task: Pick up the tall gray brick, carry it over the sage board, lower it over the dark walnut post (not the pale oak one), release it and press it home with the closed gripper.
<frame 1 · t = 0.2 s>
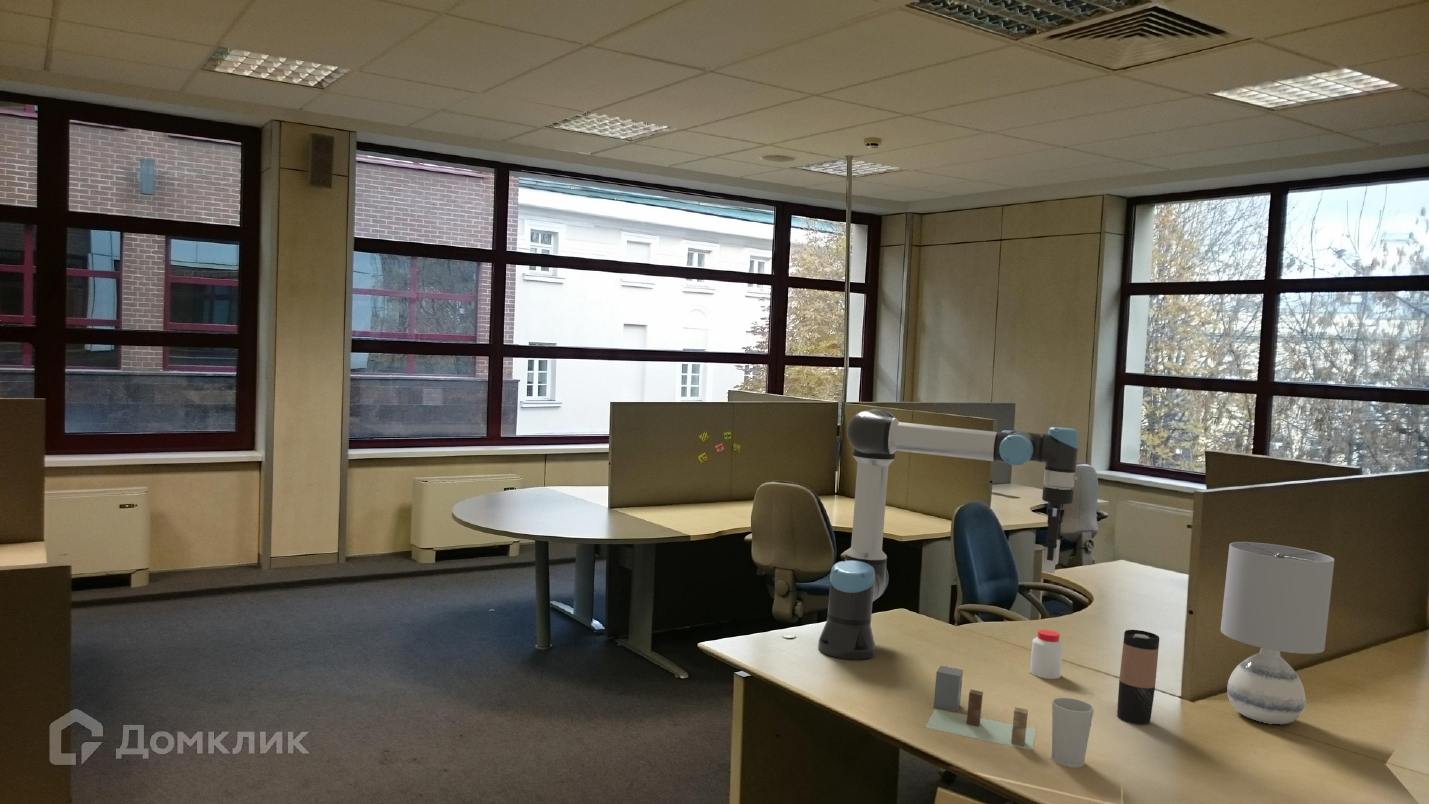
hand: (1050, 568, 255), 28 cm above the table, fingers open, 13 cm apart
tall gray brick: (946, 707, 225), on the table
pill bottle: (1044, 674, 256), on the table
travel mug: (1133, 720, 227), on the table
cup: (1067, 763, 198), on the table
board: (981, 730, 212), on the table
lamp: (1262, 718, 234), on the table
oak post: (1018, 742, 206), resting on board
walnut post: (973, 723, 215), resting on board
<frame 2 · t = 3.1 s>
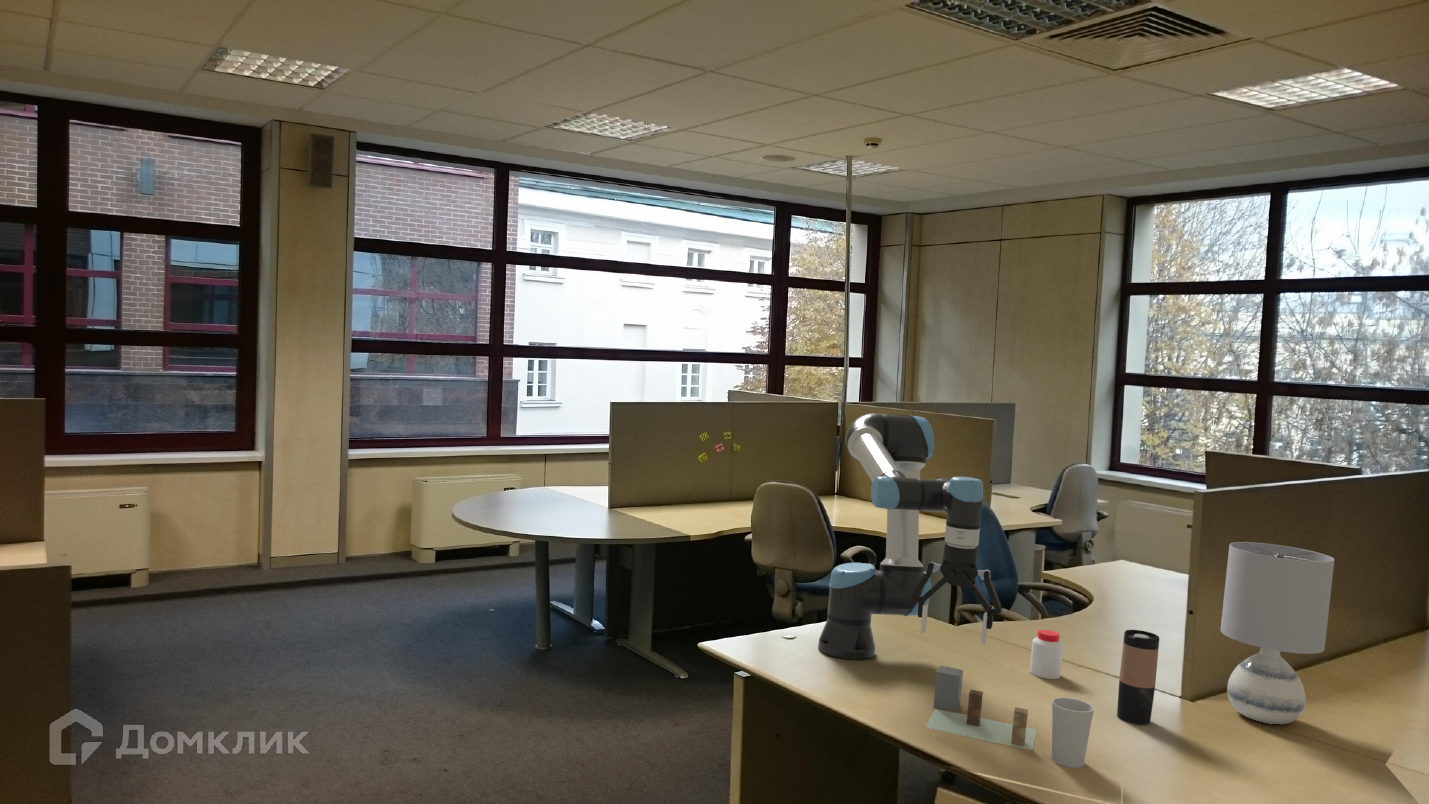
hand: (953, 637, 224), 17 cm above the table, fingers open, 13 cm apart
nothing on the table moved.
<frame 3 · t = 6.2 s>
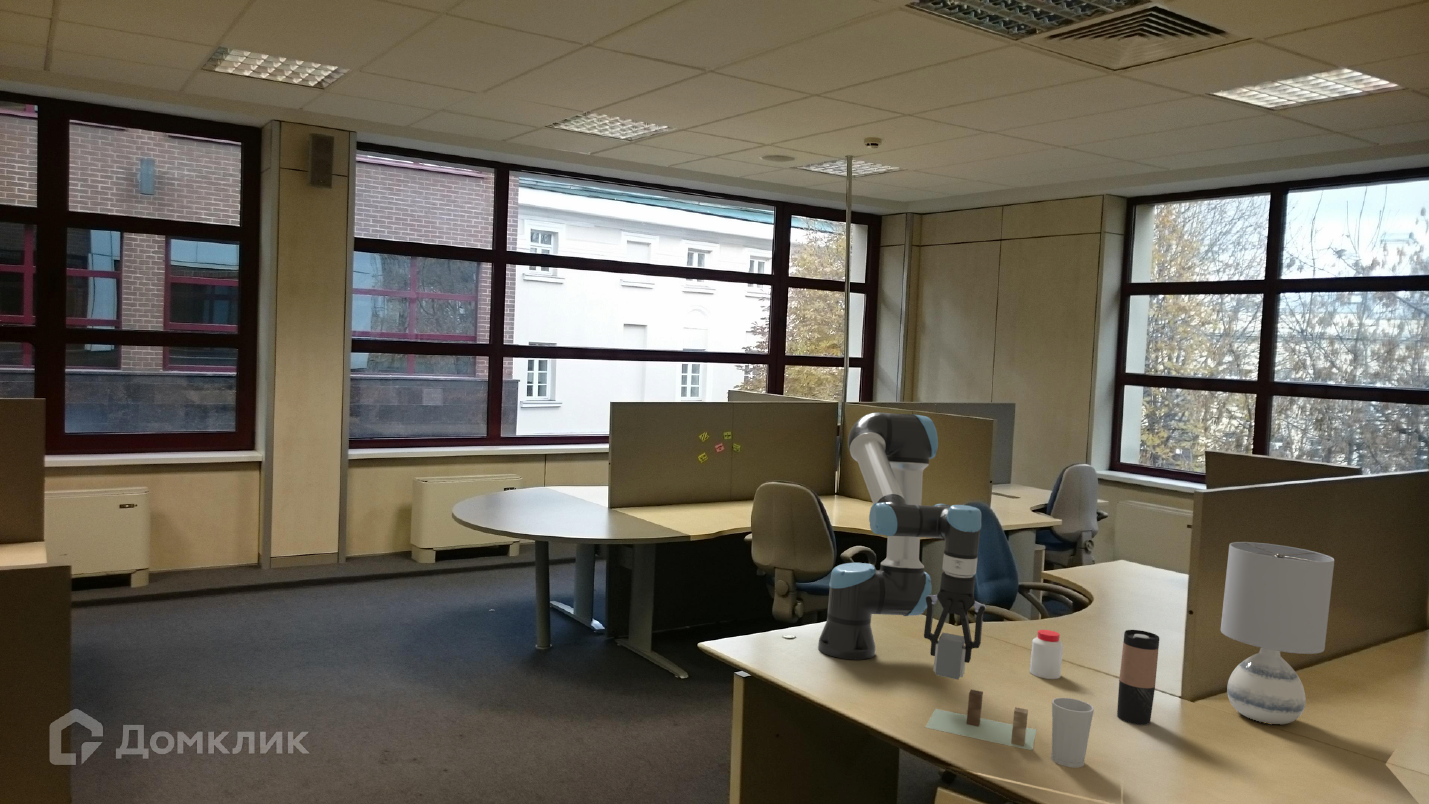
hand: (948, 672, 225), 8 cm above the table, fingers closed on tall gray brick, 5 cm apart
tall gray brick: (948, 673, 225), point 8 cm above the table, touching gripper
everything else where it was.
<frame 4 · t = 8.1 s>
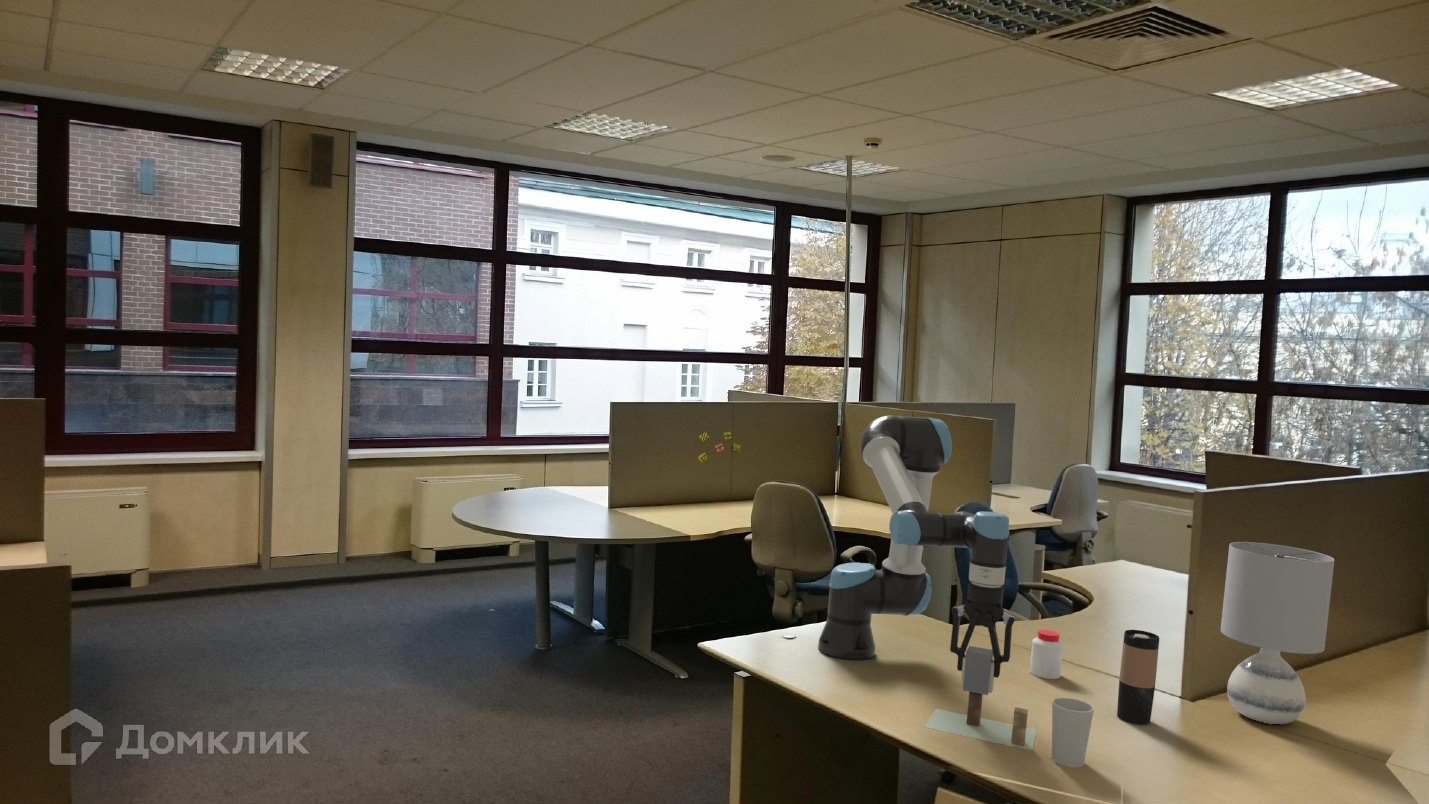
hand: (976, 688, 214), 8 cm above the table, fingers closed on tall gray brick, 5 cm apart
tall gray brick: (976, 689, 214), point 8 cm above the table, touching gripper
everything else where it was.
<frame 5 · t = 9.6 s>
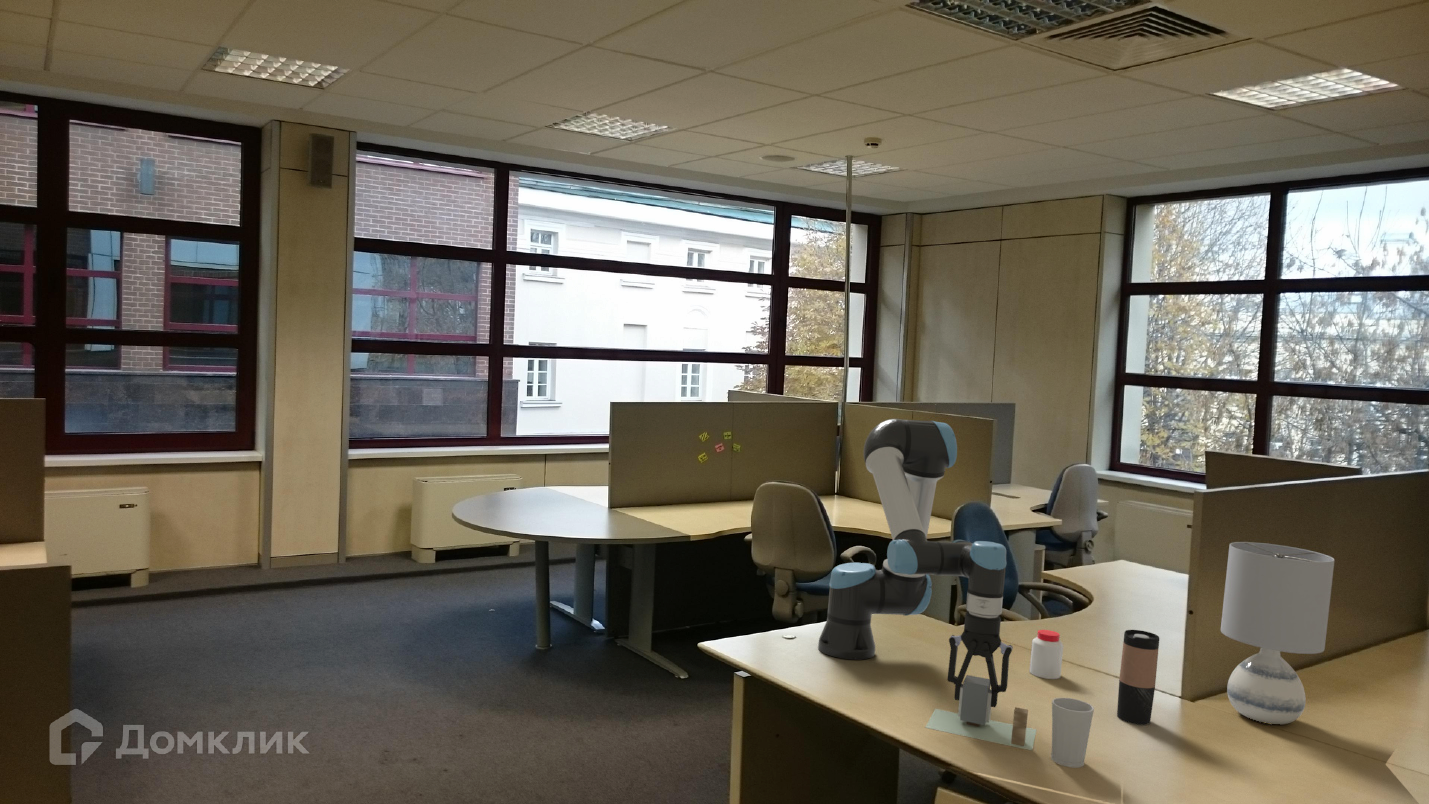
hand: (974, 717, 215), 2 cm above the table, fingers closed on tall gray brick, 5 cm apart
tall gray brick: (973, 718, 215), point 2 cm above the table, touching gripper
everything else where it was.
when the fingers open (1 cm above the table, at t = 10.1 s): tall gray brick stays where it is, resting on board.
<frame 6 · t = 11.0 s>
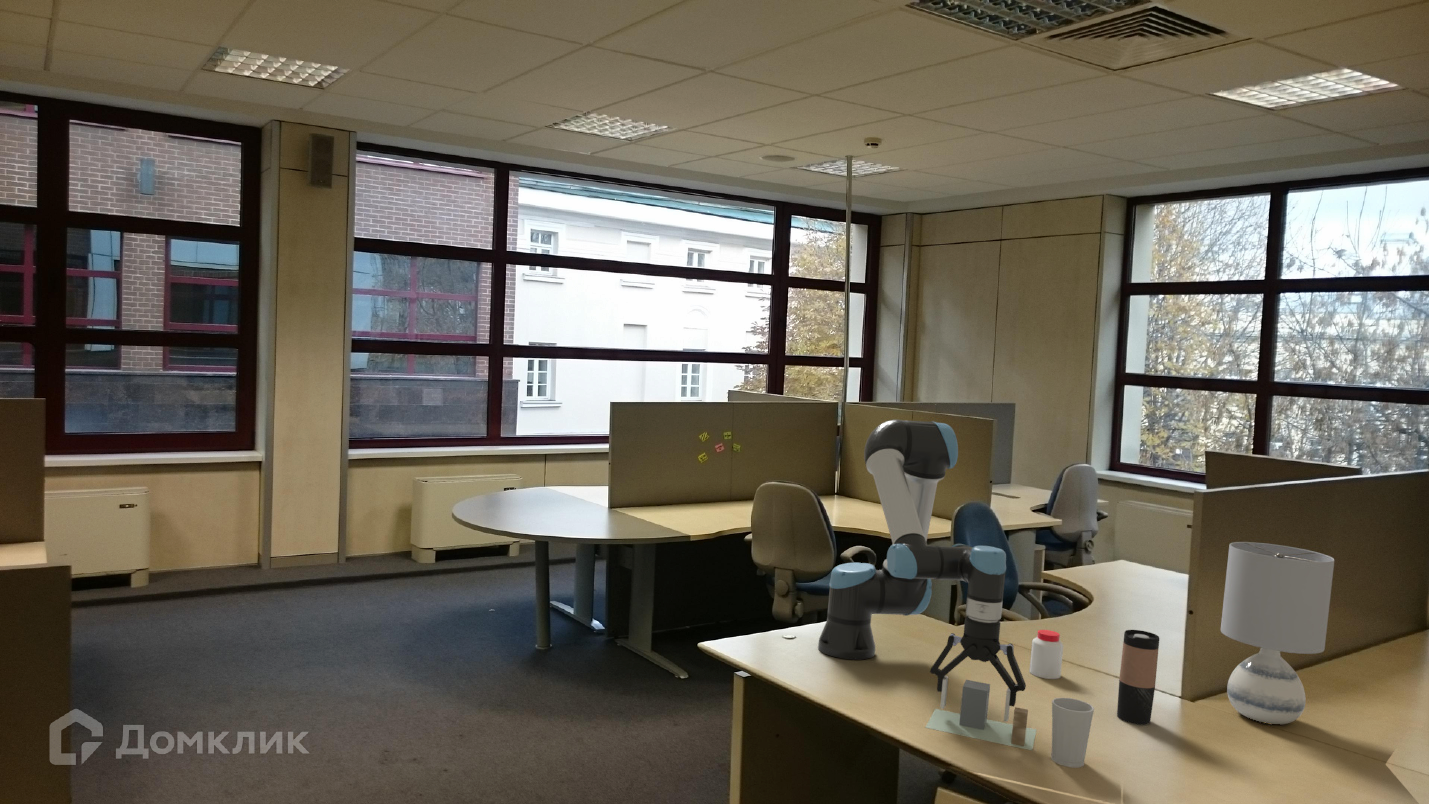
hand: (974, 713, 215), 3 cm above the table, fingers open, 13 cm apart
tall gray brick: (973, 723, 215), resting on board
everything else where it was.
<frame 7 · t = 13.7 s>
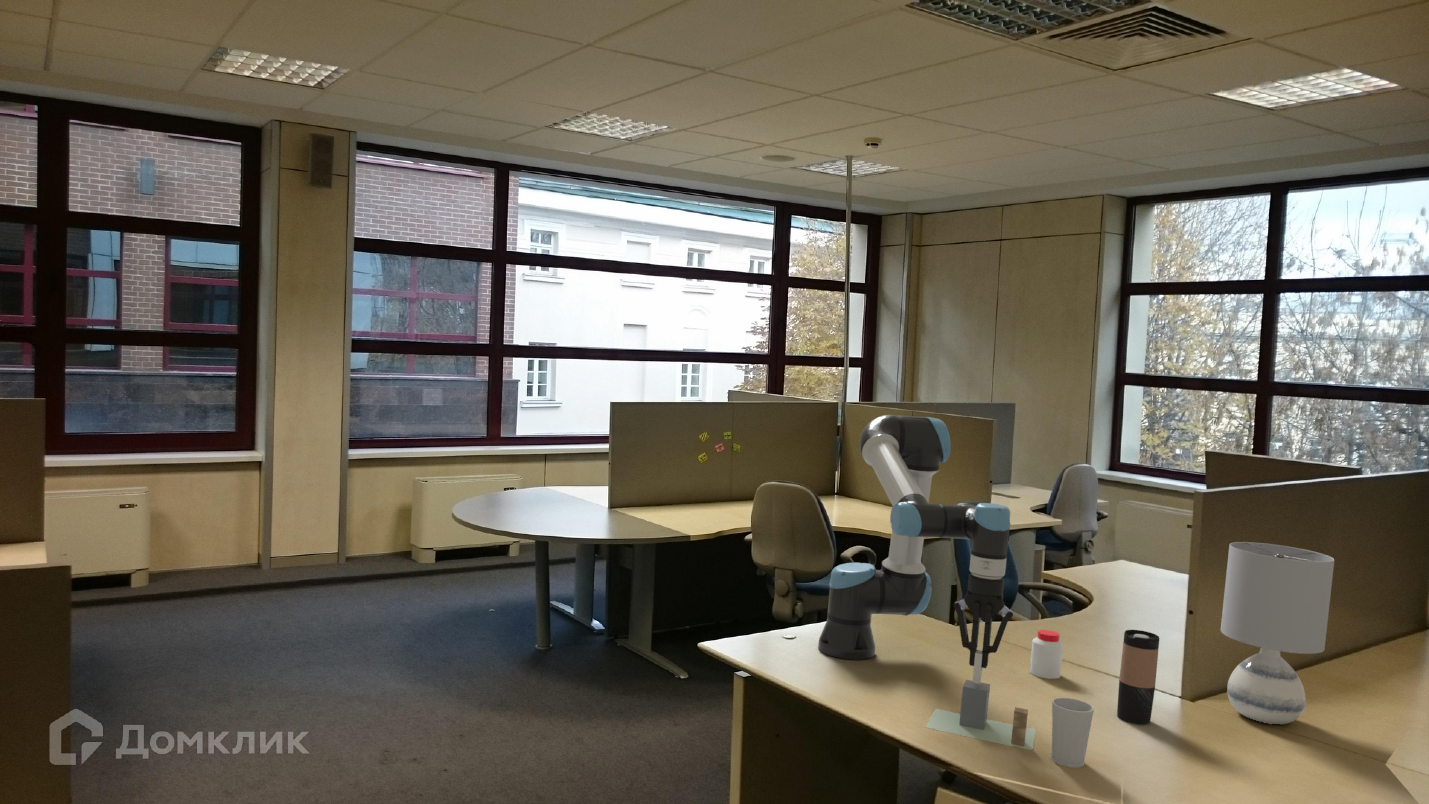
hand: (976, 680, 215), 10 cm above the table, fingers closed
nothing on the table moved.
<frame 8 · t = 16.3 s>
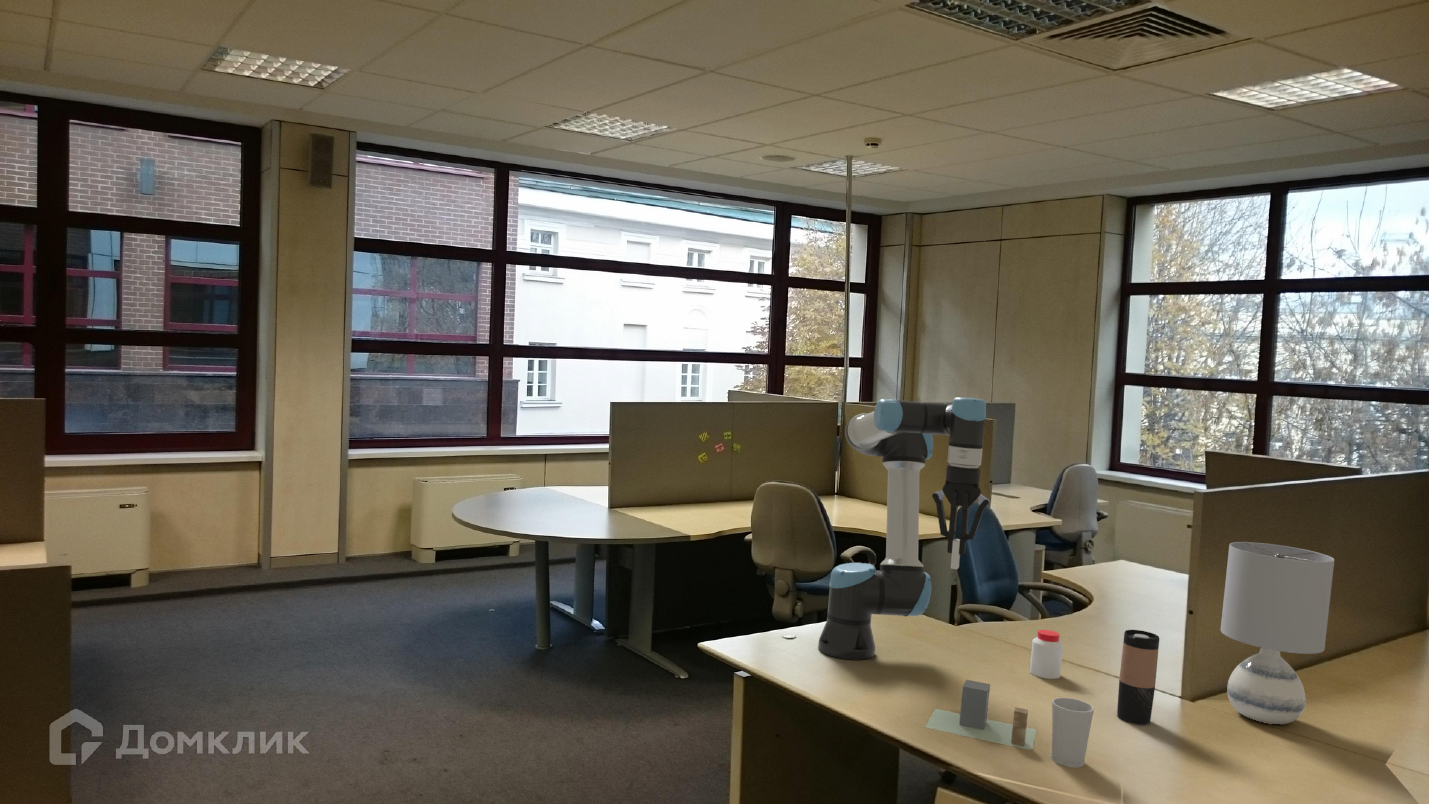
hand: (954, 567, 224), 32 cm above the table, fingers closed
nothing on the table moved.
at the end: tall gray brick 0.1 cm from the walnut post (horizontally); tall gray brick resting on board; the gripper is holding nothing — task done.
